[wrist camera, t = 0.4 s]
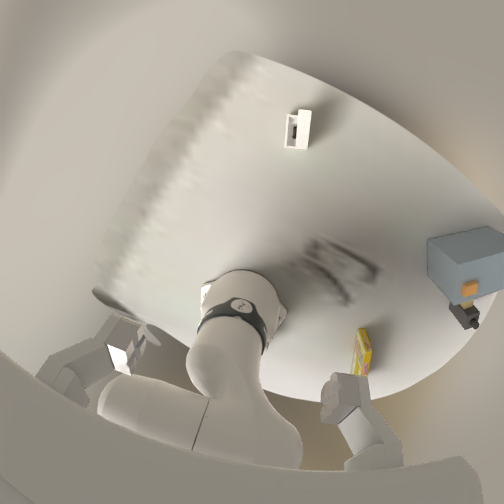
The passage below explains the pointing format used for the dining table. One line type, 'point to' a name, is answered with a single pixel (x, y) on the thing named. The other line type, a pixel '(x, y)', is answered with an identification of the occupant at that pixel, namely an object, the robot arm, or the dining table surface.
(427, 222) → the dining table surface
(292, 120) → the white wedge bracket
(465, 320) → the plug
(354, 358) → the candy box
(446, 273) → the socket
